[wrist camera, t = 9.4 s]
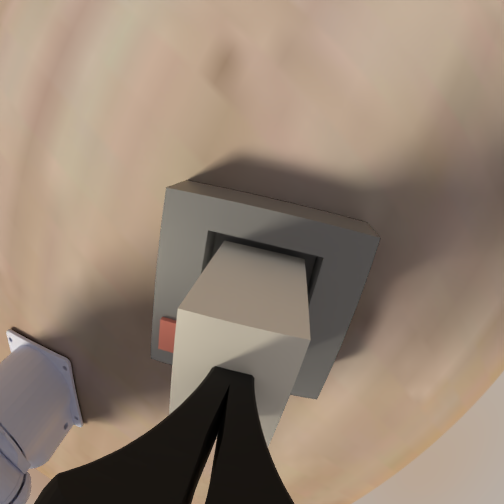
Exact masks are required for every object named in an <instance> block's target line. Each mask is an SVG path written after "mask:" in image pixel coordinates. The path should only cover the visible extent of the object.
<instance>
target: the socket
mask: <svg viewBox="0 0 504 504" xmlns="http://www.w3.org/2000/svg"><path fill="white" fill-rule="evenodd" d="M224 240H225V241H229V242H234V243H238V244H242V245H247V246H251V247H255V248H259V249H264V250H268V251H272V252H277V253H281V254H285V255H289V256H294V257H298V258H302V259H305V269H306V281H307V294H308V308H309V323H310V339H311V340H310V343H309V346H308V349H307V351H306V354H305V357H304V359H303V362H302V365H301V367H300V370H299V373H298V375H297V378H296V381H295V383H294V386H293V388H292V391H291V393H290V395H295V396H300V397H306V398H311V399H317V398H318V396H319V394H320V392H321V390H322V388H323V386H324V383H325V381H326V379H327V377H328V375H329V372H330V370H331V368H332V366H333V363H334V361H335V359H336V356H337V354H338V352H339V349H340V347H341V345H342V342H343V340H344V337H345V335H346V332H347V330H348V327H349V325H350V322H351V320H352V317H353V315H354V312H355V310H356V307H357V304H358V302H359V299H360V296H361V294H362V291H363V288H364V285H365V283H366V280H367V277H368V274H369V271H370V268H371V265H372V262H373V259H374V256H375V253H376V250H377V247H378V244H379V241H380V237H379V236H378V235H377V233H376V232H375V231H374V230H373V229H372V228H371V227H370V225H369V224H368V223H367V222H363V221H360V220H356V219H352V218H349V217H345V216H341V215H337V214H333V213H329V212H325V211H322V210H318V209H314V208H310V207H306V206H302V205H297V204H293V203H289V202H285V201H281V200H276V199H272V198H268V197H264V196H259V195H255V194H250V193H246V192H241V191H237V190H232V189H227V188H223V187H218V186H213V185H208V184H203V183H198V182H193V181H188V180H186V181H183V182H180V183H177V184H175V185H172V186H169V187H166V193H165V200H164V207H163V215H162V223H161V231H160V240H159V249H158V258H157V269H156V280H155V292H154V305H153V320H152V339H151V359H154V360H157V361H160V362H163V363H166V364H170V365H172V364H173V352H174V340H175V330H176V320H177V310H178V307H179V306H180V304H181V303H182V301H183V300H184V298H185V297H186V295H187V294H188V292H189V291H190V289H191V288H192V287H193V285H194V284H195V282H196V281H197V279H198V278H199V276H200V275H201V273H202V272H203V271H204V269H205V268H206V266H207V265H208V263H209V262H210V260H211V259H212V258H213V256H214V255H215V253H216V252H217V250H218V249H219V248H220V246H221V245H222V243H223V242H224Z"/></svg>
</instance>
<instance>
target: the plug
mask: <svg viewBox="0 0 504 504" xmlns="http://www.w3.org/2000/svg"><path fill="white" fill-rule="evenodd" d="M310 340H311V339H310V323H309V308H308V294H307V281H306V269H305V259H302V258H298V257H294V256H289V255H285V254H281V253H277V252H272V251H268V250H264V249H259V248H255V247H251V246H247V245H242V244H238V243H234V242H229V241H225V240H224V242H223V243H222V245H221V246H220V248H219V249H218V250H217V252H216V253H215V255H214V256H213V258H212V259H211V260H210V262H209V263H208V265H207V266H206V268H205V269H204V271H203V272H202V273H201V275H200V276H199V278H198V279H197V281H196V282H195V284H194V285H193V287H192V288H191V289H190V291H189V292H188V294H187V295H186V297H185V298H184V300H183V301H182V303H181V304H180V306H179V307H178V310H177V320H176V330H175V340H174V352H173V364H172V377H171V391H170V407H169V415H170V414H171V413H172V412H173V411H174V410H175V409H176V408H178V407H179V406H180V405H181V404H182V403H183V402H184V401H185V400H186V399H187V398H188V397H189V396H190V395H191V394H192V393H193V392H194V390H195V389H196V388H197V387H198V386H199V385H200V384H201V382H202V381H203V380H204V379H205V377H206V376H207V374H208V373H209V372H210V370H211V368H212V367H215V366H218V367H221V368H225V369H229V370H233V371H237V372H241V373H246V374H250V375H252V376H253V377H254V378H255V379H254V387H255V397H256V404H257V410H258V414H259V419H260V423H261V427H262V431H263V434H264V438H265V441H266V444H267V447H268V446H269V444H270V441H271V439H272V437H273V434H274V432H275V430H276V427H277V425H278V423H279V420H280V418H281V416H282V413H283V411H284V408H285V406H286V403H287V401H288V398H289V396H290V393H291V391H292V388H293V386H294V383H295V381H296V378H297V375H298V373H299V370H300V367H301V365H302V362H303V359H304V357H305V354H306V351H307V349H308V346H309V343H310ZM217 436H218V435H217Z"/></svg>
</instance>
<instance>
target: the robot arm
mask: <svg viewBox="0 0 504 504" xmlns="http://www.w3.org/2000/svg"><path fill="white" fill-rule="evenodd" d="M6 333H7V338H8V342H9V346H10V350H11V354H10V355H9V356H7V357H6V358H5V359H4V360H3V361H2V362H1V363H0V504H25V503H26V502H27V500H28V498H29V496H30V492H31V477H30V474H29V473H28V472H27V471H28V469H29V468H37V467H39V466H42V465H43V464H45V463H46V462H47V461H48V460H49V459H50V458H51V456H52V455H53V453H54V452H55V450H56V449H57V447H58V446H59V445H60V443H61V442H62V440H63V439H64V437H65V436H66V435H67V433H68V432H69V430H70V429H71V427H72V426H73V425H76V426H78V427H82V426H83V421H82V417H81V412H80V408H79V404H78V399H77V394H76V389H75V384H74V379H73V373H72V368H71V363H70V361H69V360H68V359H67V358H66V357H64V356H61V355H59V354H57V353H55V352H53V351H51V350H49V349H47V348H45V347H43V346H41V345H39V344H37V343H35V342H33V341H31V340H29V339H27V338H26V337H24V336H22V335H20V334H18V333H16V332H14V331H13V330H11V329H9V330H7V332H6ZM254 379H255V378H254V377H253V376H252V375H250V374H246V373H241V372H237V371H233V370H229V369H225V368H221V367H218V366H215V367H212V368H211V370H210V372H209V373H208V374H207V376H206V377H205V379H204V380H203V381H202V382H201V384H200V385H199V386H198V387H197V388H196V389H195V390H194V392H193V393H192V394H191V395H190V396H189V397H188V398H187V399H186V400H185V401H184V402H183V403H182V404H181V405H180V406H179V407H178V408H176V409H175V410H174V411H173V412H172V413H171V414H170V415H169V416H167V417H166V418H165V419H164V420H163V421H161V422H160V423H159V424H158V425H156V426H155V427H154V428H152V429H151V430H149V431H148V432H147V433H145V434H144V435H142V436H141V437H139V438H138V439H136V440H134V441H133V442H131V443H129V444H128V445H126V446H124V447H123V448H121V449H119V450H117V451H115V452H113V453H111V454H109V455H106V456H104V457H102V458H100V459H98V460H96V461H93V462H91V463H88V464H86V465H83V466H80V467H77V468H74V469H71V470H68V471H65V472H62V473H59V474H57V475H56V476H55V477H54V478H53V479H52V480H51V481H50V482H49V483H48V484H47V486H46V487H45V488H44V489H43V490H42V492H41V493H40V495H39V497H38V498H37V500H36V501H35V503H34V504H191V502H192V499H193V495H194V492H195V489H196V487H197V484H198V481H199V479H200V476H201V474H202V472H203V469H204V467H205V464H206V462H207V459H208V457H209V455H210V452H211V450H212V447H213V445H214V442H215V440H216V437H217V442H216V448H215V454H214V460H213V466H212V473H211V479H210V485H209V490H208V494H207V498H206V502H205V504H294V502H293V500H292V499H291V497H290V495H289V493H288V492H287V490H286V488H285V486H284V485H283V483H282V480H281V478H280V476H279V474H278V472H277V470H276V468H275V465H274V463H273V460H272V458H271V455H270V453H269V450H268V447H267V444H266V441H265V438H264V434H263V431H262V427H261V423H260V419H259V414H258V410H257V404H256V397H255V387H254ZM217 435H218V436H217Z"/></svg>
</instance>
